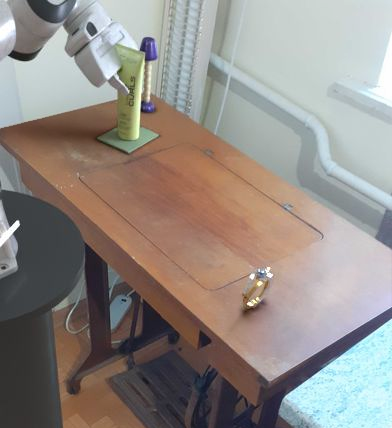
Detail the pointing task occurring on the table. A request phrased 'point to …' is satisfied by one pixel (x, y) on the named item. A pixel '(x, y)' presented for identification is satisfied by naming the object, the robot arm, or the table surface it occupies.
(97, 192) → the table surface
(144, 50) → the toy lamp
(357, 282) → the table surface
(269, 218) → the table surface
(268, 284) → the ring
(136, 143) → the mat
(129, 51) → the tube
